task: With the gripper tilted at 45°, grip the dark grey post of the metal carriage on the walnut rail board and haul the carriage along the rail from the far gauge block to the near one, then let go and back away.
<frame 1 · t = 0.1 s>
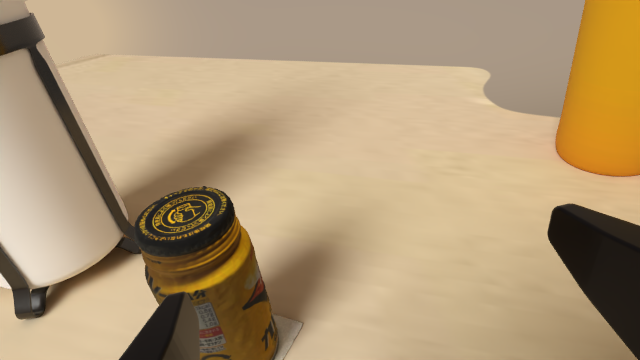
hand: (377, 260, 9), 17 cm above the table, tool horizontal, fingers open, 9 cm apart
beer bottle: (604, 156, 41), on the table
coffee press: (63, 269, 37), on the table
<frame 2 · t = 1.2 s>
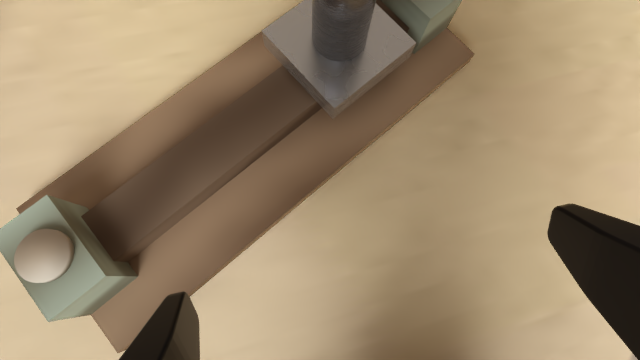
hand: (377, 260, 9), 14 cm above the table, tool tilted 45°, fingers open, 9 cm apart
rail board: (262, 132, 25), on the table
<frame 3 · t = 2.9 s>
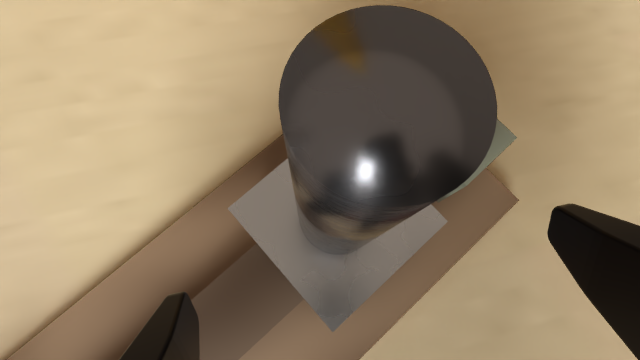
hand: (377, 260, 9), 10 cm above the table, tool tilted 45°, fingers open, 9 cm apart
rail board: (235, 315, 18), on the table
carriage: (348, 190, 11), point 9 cm above the table, slide at 0.0 cm
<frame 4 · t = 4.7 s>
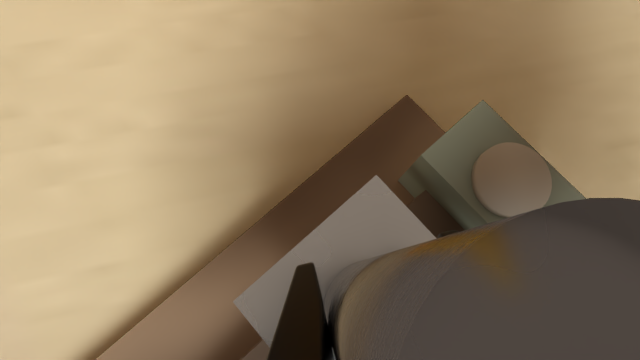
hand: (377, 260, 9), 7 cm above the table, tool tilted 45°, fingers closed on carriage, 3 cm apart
carriage: (406, 328, 8), point 9 cm above the table, slide at 0.0 cm, touching gripper
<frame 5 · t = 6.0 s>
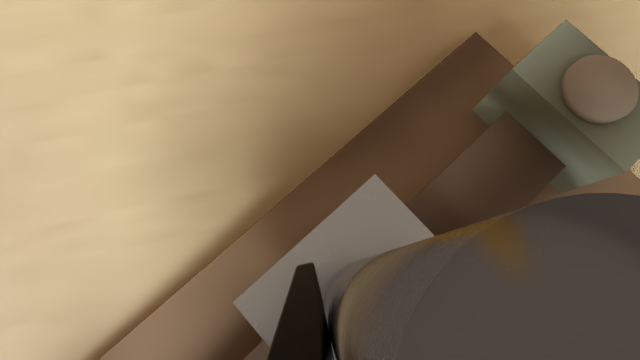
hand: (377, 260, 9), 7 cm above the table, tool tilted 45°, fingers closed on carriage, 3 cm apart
rail board: (332, 324, 16), on the table
carriage: (406, 327, 8), point 9 cm above the table, slide at 4.7 cm, touching gripper
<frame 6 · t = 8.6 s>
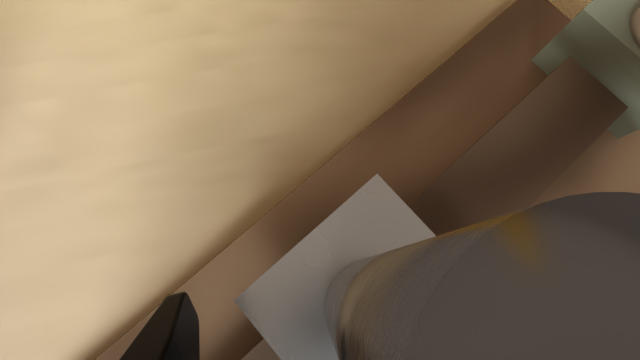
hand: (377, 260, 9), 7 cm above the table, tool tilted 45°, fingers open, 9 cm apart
rail board: (399, 260, 16), on the table
carriage: (408, 326, 8), point 9 cm above the table, slide at 8.4 cm
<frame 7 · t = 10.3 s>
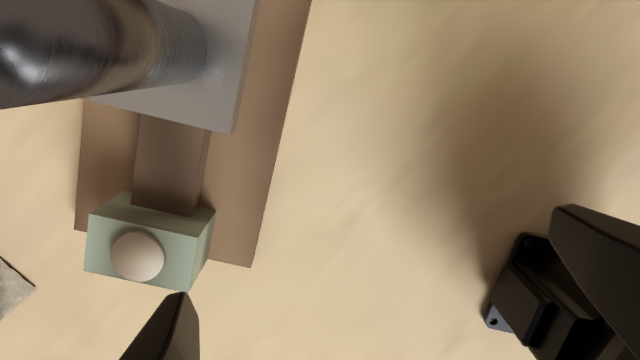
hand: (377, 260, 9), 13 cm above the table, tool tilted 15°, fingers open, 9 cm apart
rail board: (208, 0, 20), on the table
carriage: (119, 40, 12), point 9 cm above the table, slide at 8.4 cm
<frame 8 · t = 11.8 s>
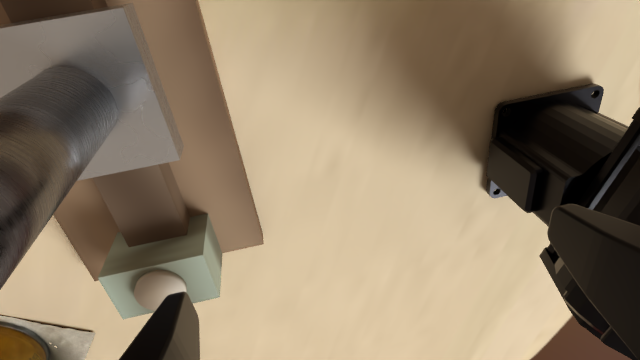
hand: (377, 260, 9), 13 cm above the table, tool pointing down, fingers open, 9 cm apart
rail board: (83, 20, 17), on the table
carriage: (19, 159, 11), point 9 cm above the table, slide at 8.4 cm
condiment: (15, 351, 26), on the table
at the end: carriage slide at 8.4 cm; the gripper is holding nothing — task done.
